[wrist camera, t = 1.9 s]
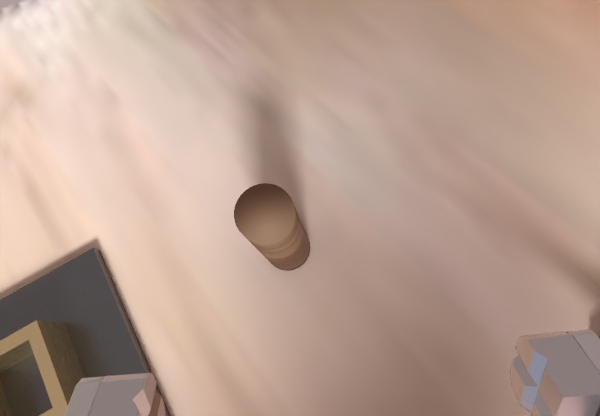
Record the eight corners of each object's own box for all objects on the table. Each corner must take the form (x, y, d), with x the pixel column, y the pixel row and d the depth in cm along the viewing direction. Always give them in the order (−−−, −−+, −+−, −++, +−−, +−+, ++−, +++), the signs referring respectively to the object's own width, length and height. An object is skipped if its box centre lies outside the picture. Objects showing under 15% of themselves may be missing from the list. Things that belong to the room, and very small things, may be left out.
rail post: (318, 256, 39) (304, 222, 28) (279, 278, 38) (251, 253, 28) (296, 219, 40) (275, 172, 29) (258, 240, 40) (224, 202, 29)
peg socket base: (176, 431, 36) (152, 443, 32) (-15, 543, 35) (-66, 570, 31) (99, 250, 41) (69, 239, 36) (-71, 346, 40) (-122, 346, 36)
